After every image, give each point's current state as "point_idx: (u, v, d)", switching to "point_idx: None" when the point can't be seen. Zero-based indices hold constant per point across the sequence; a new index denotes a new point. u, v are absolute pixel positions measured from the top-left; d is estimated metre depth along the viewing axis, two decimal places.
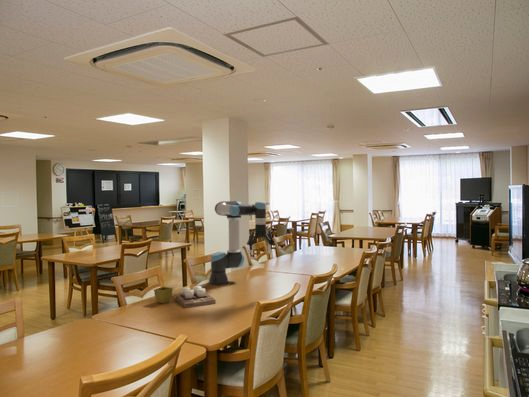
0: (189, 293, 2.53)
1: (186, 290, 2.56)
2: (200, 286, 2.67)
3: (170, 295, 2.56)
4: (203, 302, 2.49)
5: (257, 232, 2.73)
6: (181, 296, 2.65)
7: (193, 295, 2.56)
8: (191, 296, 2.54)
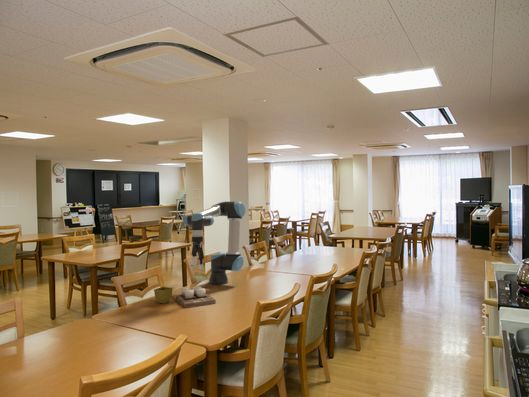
0: (189, 293, 2.53)
1: (186, 290, 2.56)
2: (200, 286, 2.67)
3: (170, 295, 2.56)
4: (203, 302, 2.49)
5: (194, 244, 2.69)
6: (181, 296, 2.65)
7: (193, 295, 2.56)
8: (191, 296, 2.54)
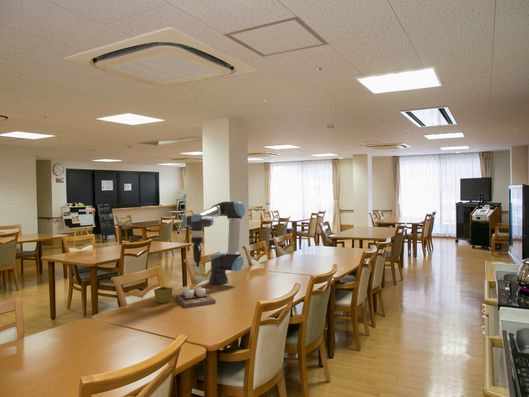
0: (189, 293, 2.53)
1: (186, 290, 2.56)
2: (200, 286, 2.67)
3: (170, 295, 2.56)
4: (203, 302, 2.49)
5: (194, 244, 2.69)
6: (181, 296, 2.65)
7: (193, 295, 2.56)
8: (191, 296, 2.54)
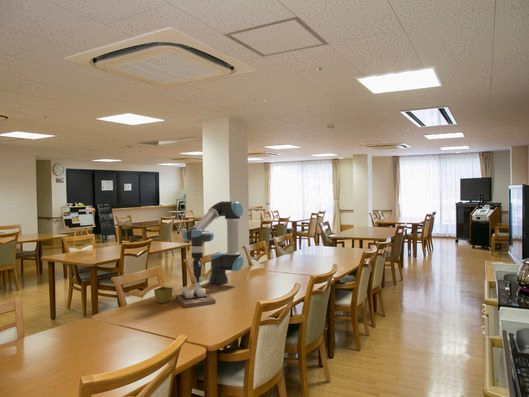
0: (189, 293, 2.53)
1: (186, 290, 2.56)
2: (200, 286, 2.67)
3: (170, 295, 2.56)
4: (203, 302, 2.49)
5: (194, 259, 2.69)
6: (181, 296, 2.65)
7: (193, 295, 2.56)
8: (191, 296, 2.54)
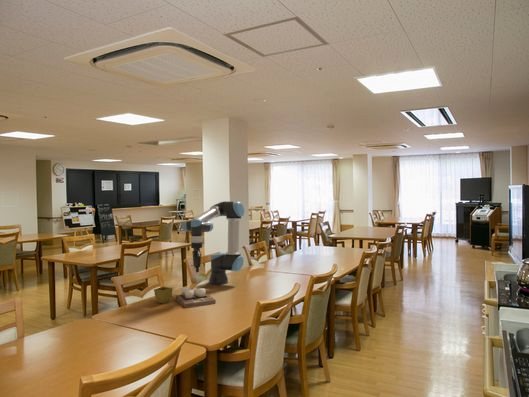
0: (189, 293, 2.53)
1: (186, 290, 2.56)
2: None
3: (170, 295, 2.56)
4: (203, 302, 2.49)
5: None
6: (181, 296, 2.65)
7: (193, 295, 2.56)
8: (191, 296, 2.54)
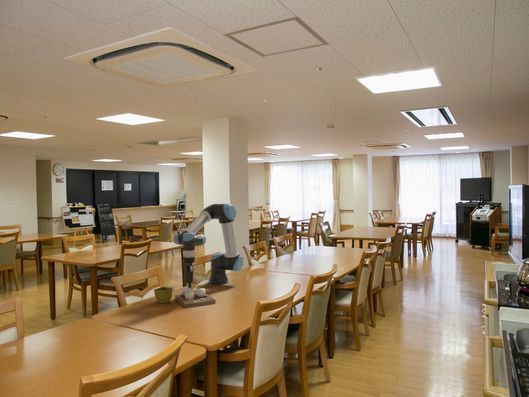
0: (189, 295, 2.53)
1: (186, 292, 2.57)
2: None
3: (170, 295, 2.56)
4: (203, 302, 2.49)
5: (186, 264, 2.58)
6: (181, 296, 2.65)
7: (193, 297, 2.56)
8: (191, 298, 2.54)
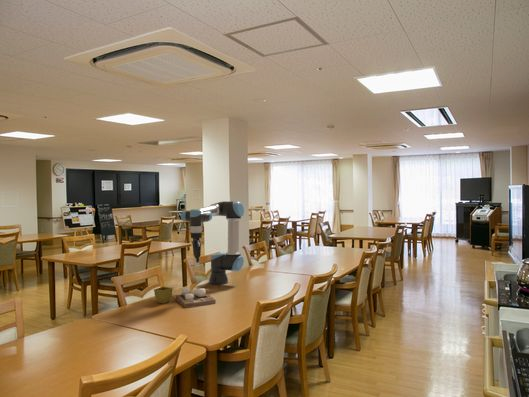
0: (189, 297, 2.53)
1: (186, 294, 2.57)
2: None
3: (170, 295, 2.56)
4: (203, 302, 2.49)
5: (193, 240, 2.67)
6: (181, 296, 2.65)
7: None
8: None
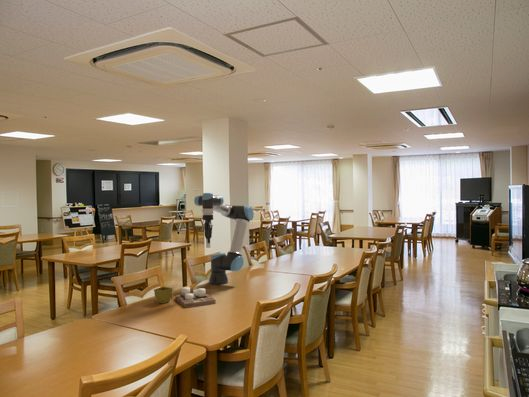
0: (189, 297, 2.53)
1: (186, 294, 2.57)
2: None
3: (170, 295, 2.56)
4: (203, 302, 2.49)
5: (205, 222, 2.82)
6: (181, 296, 2.65)
7: None
8: None
